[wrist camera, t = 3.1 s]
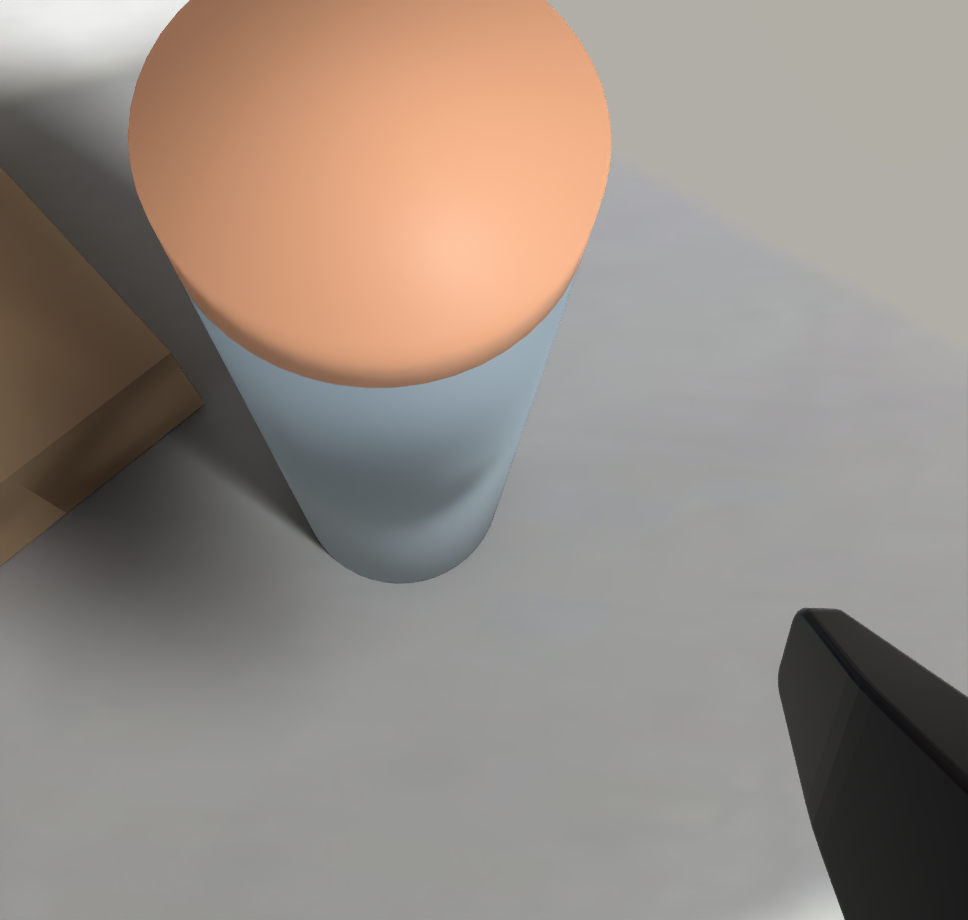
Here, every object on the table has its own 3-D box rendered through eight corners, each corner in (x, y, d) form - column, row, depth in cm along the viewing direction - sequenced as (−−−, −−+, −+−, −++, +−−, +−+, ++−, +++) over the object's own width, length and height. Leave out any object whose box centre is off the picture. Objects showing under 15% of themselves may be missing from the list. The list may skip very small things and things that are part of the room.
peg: (394, 625, 20) (352, 447, 8) (262, 481, 21) (26, 101, 8) (537, 492, 21) (707, 146, 9) (408, 359, 22) (392, -138, 9)
